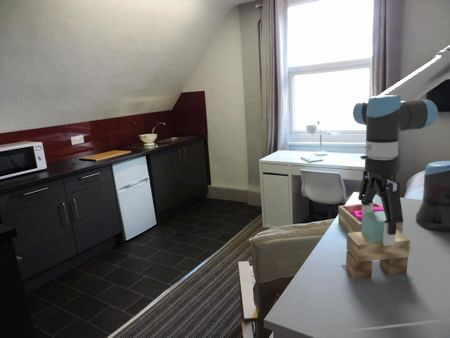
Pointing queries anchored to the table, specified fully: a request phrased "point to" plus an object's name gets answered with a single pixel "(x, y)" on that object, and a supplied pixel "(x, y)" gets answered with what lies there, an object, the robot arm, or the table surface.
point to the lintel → (376, 247)
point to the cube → (373, 226)
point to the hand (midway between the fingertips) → (377, 234)
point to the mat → (378, 275)
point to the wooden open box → (351, 222)
